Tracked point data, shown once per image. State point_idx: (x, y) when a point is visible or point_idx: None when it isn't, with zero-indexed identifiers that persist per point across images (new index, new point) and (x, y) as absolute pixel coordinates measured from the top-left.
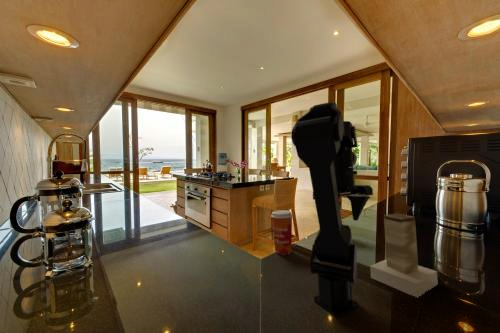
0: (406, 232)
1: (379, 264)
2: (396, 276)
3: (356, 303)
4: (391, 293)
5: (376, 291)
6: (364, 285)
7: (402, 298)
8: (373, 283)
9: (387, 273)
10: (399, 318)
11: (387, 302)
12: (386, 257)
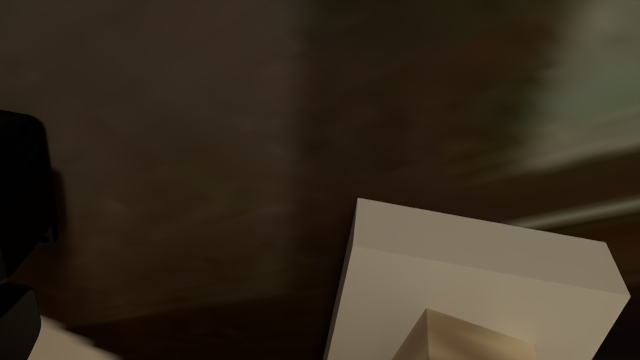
0: None
1: (423, 275)
2: (328, 355)
3: (50, 237)
4: (277, 294)
5: (237, 251)
6: (243, 200)
7: (273, 326)
8: (304, 223)
9: (335, 321)
10: (134, 337)
11: (192, 297)
12: (429, 355)
